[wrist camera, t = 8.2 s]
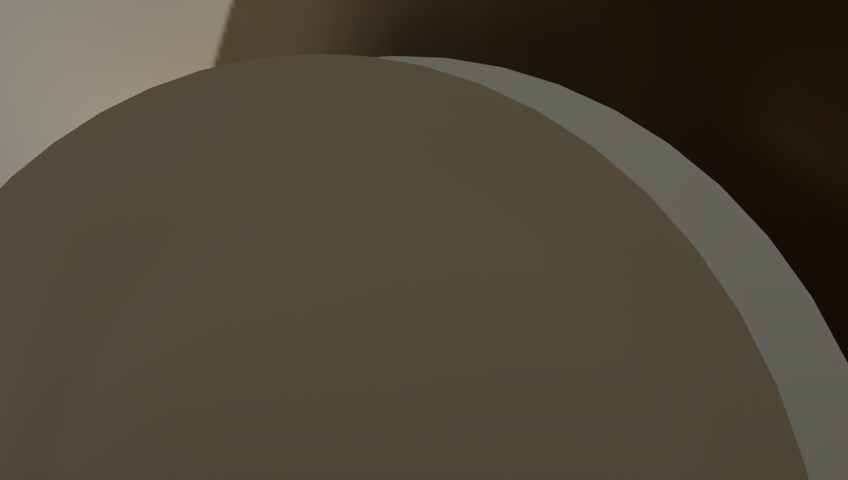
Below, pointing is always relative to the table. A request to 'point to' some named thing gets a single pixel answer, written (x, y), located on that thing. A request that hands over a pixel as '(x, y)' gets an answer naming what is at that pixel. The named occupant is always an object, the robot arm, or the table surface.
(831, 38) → the table surface
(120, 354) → the spice jar
